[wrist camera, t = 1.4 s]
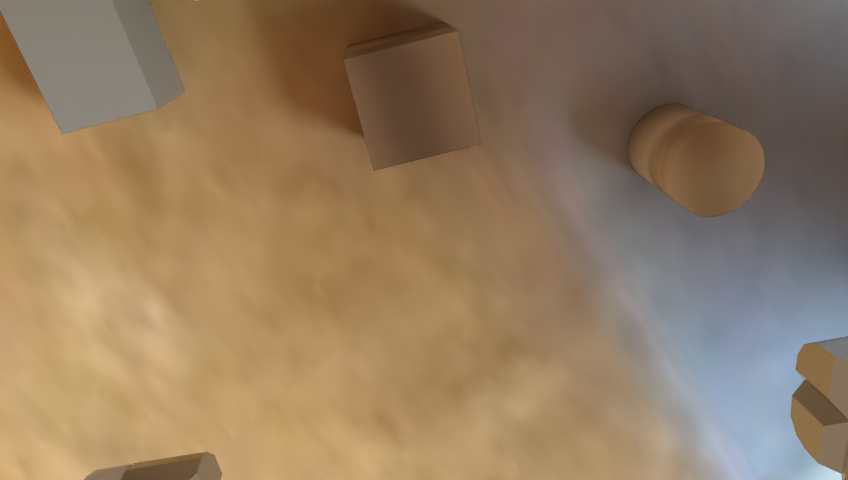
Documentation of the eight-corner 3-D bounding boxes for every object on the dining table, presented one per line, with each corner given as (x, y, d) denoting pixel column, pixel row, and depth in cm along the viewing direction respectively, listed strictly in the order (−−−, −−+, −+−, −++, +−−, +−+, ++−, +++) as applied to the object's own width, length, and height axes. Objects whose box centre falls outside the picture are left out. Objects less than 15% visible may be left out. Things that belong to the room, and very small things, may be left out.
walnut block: (444, 21, 28) (458, 30, 23) (463, 118, 29) (481, 144, 25) (347, 45, 28) (343, 59, 23) (373, 140, 29) (373, 170, 25)
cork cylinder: (704, 94, 30) (765, 116, 25) (707, 171, 31) (764, 204, 27) (624, 114, 30) (670, 139, 25) (631, 189, 31) (676, 226, 27)
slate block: (129, -50, 25) (88, -54, 22) (185, 91, 28) (157, 108, 24) (38, -25, 26) (-18, -25, 22) (102, 113, 28) (61, 134, 24)
